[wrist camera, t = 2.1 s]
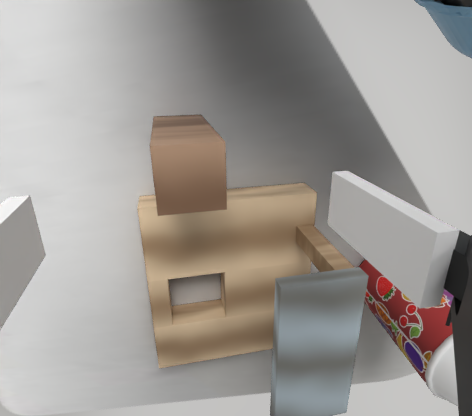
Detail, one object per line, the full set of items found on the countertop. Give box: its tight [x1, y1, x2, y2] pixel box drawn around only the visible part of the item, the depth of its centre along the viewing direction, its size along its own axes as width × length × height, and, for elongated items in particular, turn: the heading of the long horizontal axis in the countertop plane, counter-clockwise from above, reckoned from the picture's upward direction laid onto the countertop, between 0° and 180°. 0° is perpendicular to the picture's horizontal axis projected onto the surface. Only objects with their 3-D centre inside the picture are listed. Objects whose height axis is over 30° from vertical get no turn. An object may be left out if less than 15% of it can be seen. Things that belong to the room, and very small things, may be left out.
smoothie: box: [359, 259, 458, 406], centre depth 31 cm, size 8×8×20 cm
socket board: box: [138, 183, 369, 416], centre depth 30 cm, size 18×16×12 cm
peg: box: [150, 115, 227, 216], centre depth 24 cm, size 4×4×12 cm
